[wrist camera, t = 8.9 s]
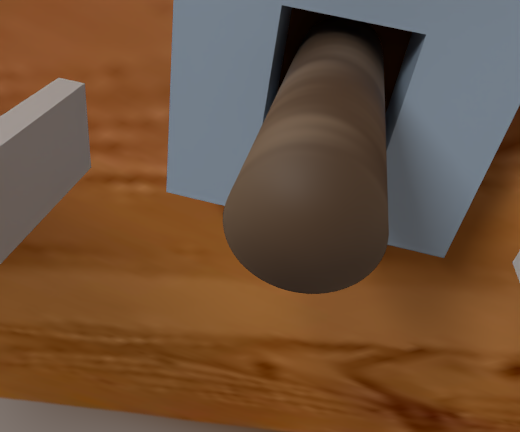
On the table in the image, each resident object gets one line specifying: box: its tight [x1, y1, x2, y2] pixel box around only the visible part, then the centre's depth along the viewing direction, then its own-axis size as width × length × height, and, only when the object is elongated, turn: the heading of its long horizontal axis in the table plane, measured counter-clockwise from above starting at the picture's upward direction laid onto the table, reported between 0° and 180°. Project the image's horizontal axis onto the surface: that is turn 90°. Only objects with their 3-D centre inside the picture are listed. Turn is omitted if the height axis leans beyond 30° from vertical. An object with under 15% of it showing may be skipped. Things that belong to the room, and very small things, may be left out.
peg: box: [223, 16, 389, 294], centre depth 17 cm, size 4×4×14 cm
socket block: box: [167, 0, 520, 258], centre depth 21 cm, size 14×14×4 cm
